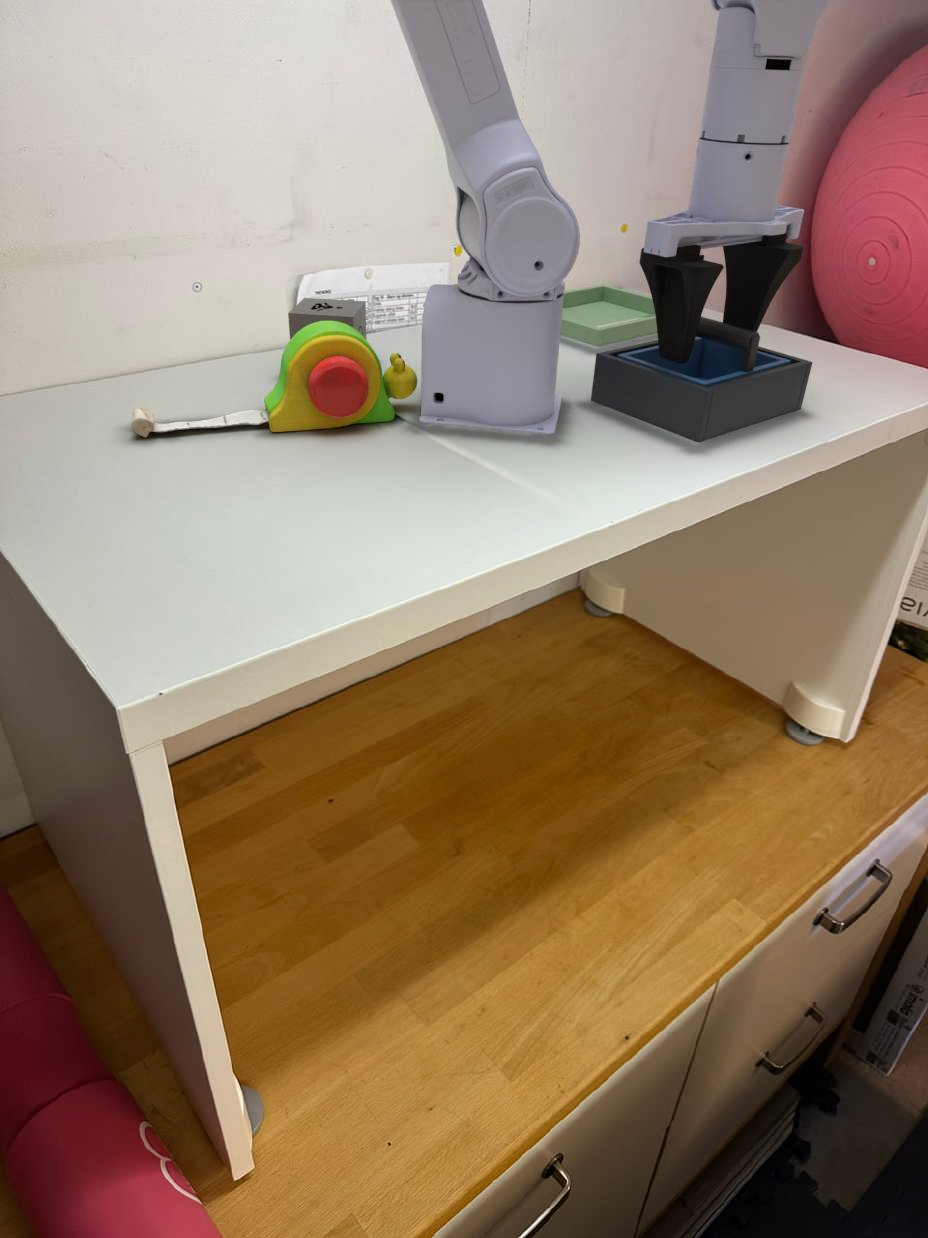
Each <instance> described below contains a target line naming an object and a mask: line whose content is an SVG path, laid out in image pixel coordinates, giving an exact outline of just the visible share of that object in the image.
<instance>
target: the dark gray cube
mask: <svg viewBox="0 0 928 1238" xmlns="http://www.w3.org/2000/svg"><path fill="white" fill-rule="evenodd" d="M366 303H367V302H366V301H364V300H349V299H348V300H347V299H331V298H330V299H329V298H315V297H314V298H313V297H304V298H303V299H301V300H300V301H299V302H298V303H297V304H296V305H295V306H294V307H293V308H292V309H291V310H290V311H289V312H288V313H287V315H288V328H289V341H290V340H291V338H292V337H293V336H294V335H295V334H296V333H297V332H298V331H300V330H301V329H302V328H304V327H306V326H307V325H309V324H312V323H315V322H319V321H337V322H341V323H344V324H347V325H349V326H351V327H353V328H354V329H356V330H357V331H358V332H359V333H360V334H361V335H362V336H363V337H364V338H365V339H366V340H367V309H366V305H367V304H366Z"/></svg>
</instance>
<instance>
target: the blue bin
mask: <svg viewBox="0 0 928 1238" xmlns="http://www.w3.org/2000/svg"><path fill="white" fill-rule="evenodd" d="M760 339H761V336H760V334H759V332H758V331H757V332H755V331H752V330H748V329H745V328H741V327H737V326H734V325H730V324H726V323H723V321H719V320H715V319H712V318H709V317H704V316H701V318H700V322H699V326H698V330H697V334H696V338H695V342H694V346H693V349H692V352H691V355H690V357H689V359H688V362H686V363H682V364H680V363H676V362H673V361H670V360H667V359H664V358H661V357H660V354H659V346H654V347H650V348H645V349H641V350H636V351H632V352H628V353H623V354H619V355H618V356H617V358H620V359H623V360H626V361H629V362H632V363H635V364H638V365H641V366H644V367H647V368H649V369H652V370H655V371H658V372H661V373H664V374H667V375H670V376H673V377H676V378H679V379H682V380H685V381H688V382H691V383H694V384H696V385H699V386H702V387H705V388H707V387H711V386H715V385H718V384H722V383H725V382H729V381H733V380H736V379H740V378H744V377H747V376H751V375H754V374H758V373H762V372H765V371H769V370H772V369H776V368H780V367H783V366H787V365H790V362H791V361H790V360H787V359H784V358H780V357H777V356H773V355H770V354H767V353H763V352H760V351H757V350H758V346H760V345H759V344H760V341H761V340H760Z"/></svg>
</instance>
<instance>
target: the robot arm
mask: <svg viewBox="0 0 928 1238" xmlns="http://www.w3.org/2000/svg"><path fill="white" fill-rule="evenodd" d="M390 2H391V5H392V8H393V11H394V13H395V17H396V19H397V21H398V24H399V27H400V29H401V32H402V35H403V38H404V40H405V43H406V46H407V48H408V51H409V54H410V57H411V59H412V62H413V65H414V67H415V70H416V73H417V76H418V78H419V79H418V80H419V81H420V84H421V87H422V89H423V92H424V94H425V98H426V100H427V103H428V106H429V108H430V111H431V113H432V116H433V119H434V122H435V124H436V128H437V130H438V133H439V135H440V138H441V140H442V143H443V147H444V151H445V157H446V164H447V170H448V174H449V177H450V179H451V182H452V185H453V190H454V192H455V196H456V197H455V198H456V212H455V231H456V235H457V238H458V241H459V243H460V245H461V247H462V249H463V251H464V252H465V253H466V255H468V257H469V258H468V260H467V261H466V262H465V264H464V266H463V267H462V269H461V270H460V273H458V274H457V283H455V284H444V283H443V284H441V283H439V284H436V283H435V284H431V285H430V286H429V287H428V290H427V293H426V296H425V300H424V306H423V314H422V323H421V325H422V326H421V359H420V361H421V363H420V364H421V367H420V369H421V372H420V417H419V418H418V421H419V423H422V424H428V425H429V424H430V425H439V426H451V427H463V428H473V429H482V430H483V429H485V430H495V431H506V432H517V433H527V434H538V435H539V434H540V435H554V434H555V433H556V429H557V424H558V419H559V415H560V410H561V405H562V401H563V397H562V396H561V395H558V394H556V385H557V376H558V363H559V353H560V343H561V335H560V333H561V322H562V311H563V301H564V291H566V290H565V289H566V282H565V281H564V280H565V279H566V278H567V277H568V275H569V274H570V272H571V271H572V269H573V267H574V265H575V263H576V260H577V258H578V254H579V249H580V245H581V233H580V225H579V222H578V218H577V216H576V214H575V212H574V209H573V208H572V207H571V205H570V204H569V202H567V201H566V199H565V198H563V196H562V195H560V194H559V193H558V192H557V191H556V189H555V188H554V187H553V185H552V183H551V182H550V180H549V178H548V175H547V172H546V170H545V166H544V163H543V160H542V157H541V156H540V154H539V152H538V150H537V148H536V146H535V144H534V142H533V141H532V139H531V136H530V135H529V133H528V132H527V129H526V128H525V126H524V124H523V122H522V119H521V118H520V115H519V112H518V107H517V104H516V102H515V99H514V96H513V93H512V89H511V87H510V84H509V83H510V82H509V81H508V77H507V74H506V71H505V67H504V65H503V61H502V59H501V54H500V51H499V49H498V46H497V43H496V39H495V36H494V33H493V30H492V26H491V24H490V20H489V17H488V15H487V11H486V8H485V4H484V2H483V0H390ZM709 2H710V4H711V7H712V9H713V10H715V11H716V12H718V17H717V22H716V23H717V24H716V29H715V36H714V42H713V48H712V55H711V59H710V60H711V61H710V65H709V70H708V71H709V72H708V78H707V84H706V91H705V98H704V104H703V110H702V117H701V123H700V129H699V136H698V141H697V148H696V154H695V160H694V166H693V173H692V179H691V185H690V193H689V198H688V205H687V209H685V210H682V211H680V212H676V213H673V214H671V215H667V216H664V217H661V218H656V219H649V220H647V223H646V230H645V238H644V245H643V247H641V249H640V255H639V262H638V263H639V265H640V268H641V270H642V272H643V274H644V276H645V277H644V278H645V279H646V283H647V285H648V288H649V292H650V296H651V297H652V299H653V304H654V309H655V315H654V316H656V323H657V333H656V334H657V340H658V344H659V354H660V357H661V358H664V359H667V360H670V361H673V362H676V363H680V364H682V363H686V362H688V359H689V357H690V355H691V352H692V349H693V346H694V342H695V338H696V334H697V330H698V326H699V322H700V318H701V317H702V315H703V311H704V308H705V306H706V304H707V301H708V298H709V296H710V293H711V292H712V289H713V288H714V286H715V283H716V282H717V280H718V278H719V276H720V275H721V273H722V272H723V270H724V268H725V289H726V290H725V298H724V299H725V300H724V308H723V316H722V322H723V323H726V324H730V325H734V326H737V327H741V328H745V329H748V330H752V331H755V332H758V330H759V328H760V326H761V324H762V322H763V320H764V318H765V315H766V314H767V312H768V309H769V307H770V305H771V303H772V302H773V300H774V297H775V295H777V292H778V291H779V289H780V288H781V286H782V284H783V283H784V281H785V280H786V279H787V278H788V276H789V275H790V274H791V272H792V271H793V270H794V268H795V267H796V266H797V265H798V264H799V263H800V262H801V260H802V257H803V252H804V246H803V245H801V244H796V243H791V242H787V240H795V239H796V240H797V239H798V238H799V236H800V232H801V228H802V227H801V226H802V222H803V218H804V213H805V210H804V209H803V208H797V207H791V206H784V205H778V202H779V196H780V192H781V187H782V182H783V177H784V173H785V167H786V163H787V158H788V153H789V149H790V142H791V140H792V135H793V129H794V124H795V119H796V115H797V110H798V105H799V99H800V94H801V91H802V85H803V80H804V76H805V72H806V66H807V61H808V57H809V51H810V47H812V44H813V41H814V40H813V39H814V34H815V29H816V26H817V24H818V21H819V18H820V17H821V16H822V14H823V13H824V11H825V10H826V9H827V8H828V7H829V5H831V3H832V2H833V0H709ZM719 247H722V250H723V255H724V264H725V265H723V264H722V263H718V262H713V261H709V260H704V259H705V255H704V254H701V251H702V250H707V249H713V248H719ZM724 266H725V267H724Z"/></svg>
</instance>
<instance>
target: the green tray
mask: <svg viewBox="0 0 928 1238" xmlns="http://www.w3.org/2000/svg"><path fill="white" fill-rule="evenodd" d="M623 321H624V322H623ZM620 322H621V323H620ZM609 324H611V325H609ZM599 326H601V327H599ZM652 334H658V333H657V323H656V316H655V309H654V304H653V299H652V296H651V295H646V294H642V293H638V292H634V291H630V290H626V289H622V288H618V287H614V286H611V285H607V284H598V285H593V286H587V287H581V288H576V289H570V290H564V301H563V311H562V322H561V333H560V336H563V337H565V338H568V339H573V340H576V341H579V342H582V343H585V344H588V345H591V346H594V347H602V346H606V345H610V344H614V343H620V342H623V341H626V340H631V339H636V338H640V337H644V336H648V335H652Z"/></svg>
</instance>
